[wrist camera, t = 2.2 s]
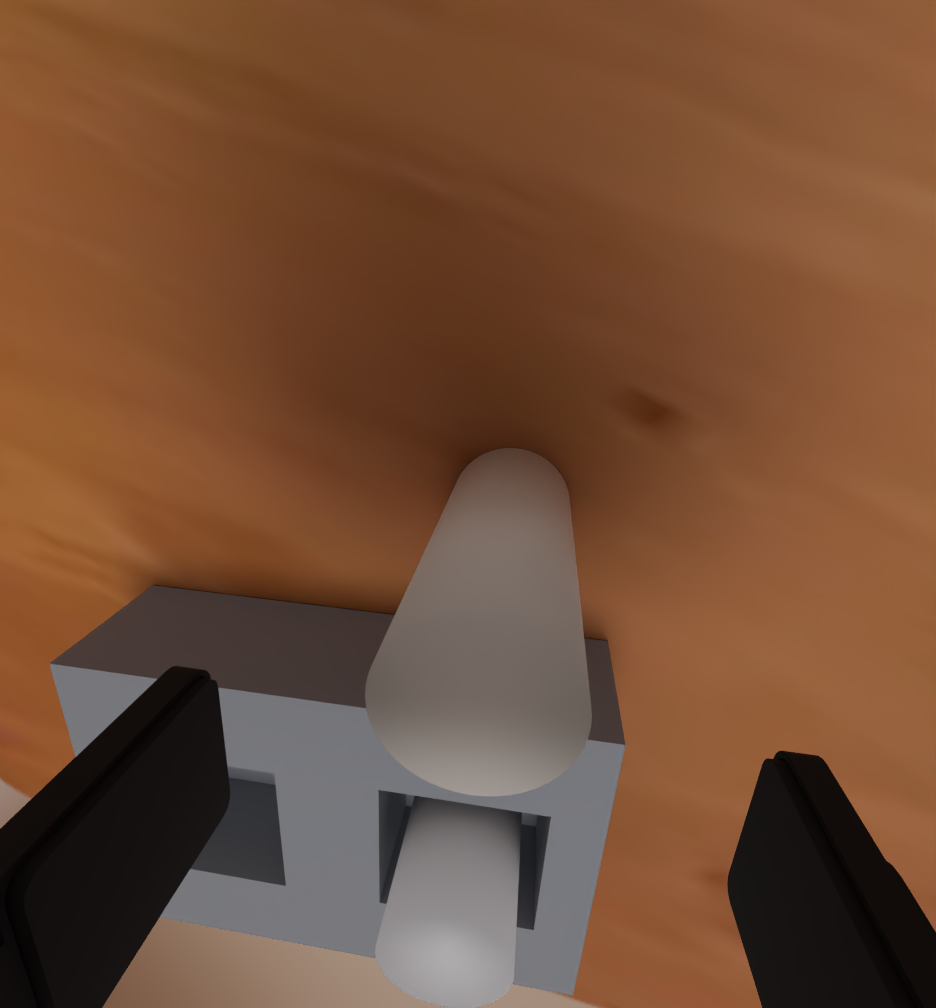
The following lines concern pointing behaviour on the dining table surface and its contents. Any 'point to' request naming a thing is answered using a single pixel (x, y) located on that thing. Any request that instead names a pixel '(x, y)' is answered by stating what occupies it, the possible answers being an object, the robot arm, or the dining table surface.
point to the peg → (489, 638)
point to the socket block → (358, 802)
